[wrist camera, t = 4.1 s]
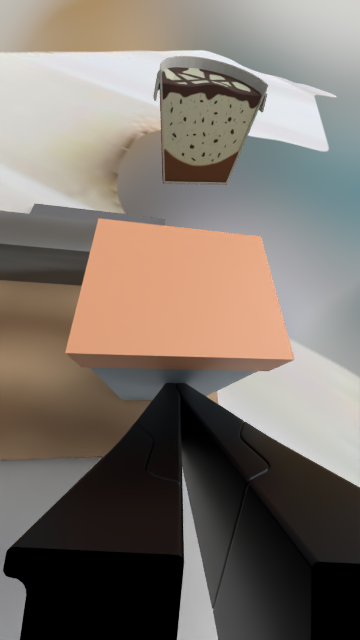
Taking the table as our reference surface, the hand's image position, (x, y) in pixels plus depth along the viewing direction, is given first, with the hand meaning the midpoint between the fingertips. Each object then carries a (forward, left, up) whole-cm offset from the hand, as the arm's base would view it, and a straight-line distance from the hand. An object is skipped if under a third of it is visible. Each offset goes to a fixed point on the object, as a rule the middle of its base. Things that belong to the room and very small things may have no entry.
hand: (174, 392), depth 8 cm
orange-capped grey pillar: (+2, +1, -6) cm, 6 cm away
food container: (+32, +5, -8) cm, 33 cm away
